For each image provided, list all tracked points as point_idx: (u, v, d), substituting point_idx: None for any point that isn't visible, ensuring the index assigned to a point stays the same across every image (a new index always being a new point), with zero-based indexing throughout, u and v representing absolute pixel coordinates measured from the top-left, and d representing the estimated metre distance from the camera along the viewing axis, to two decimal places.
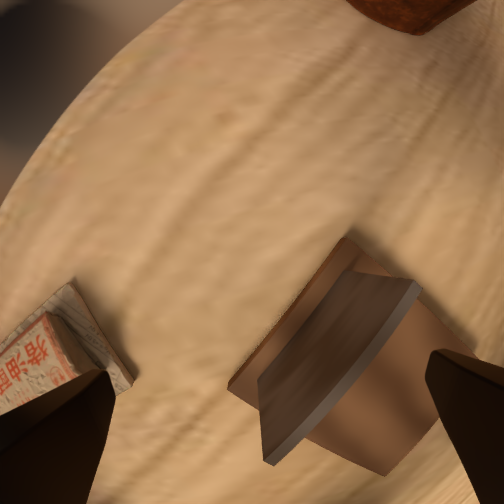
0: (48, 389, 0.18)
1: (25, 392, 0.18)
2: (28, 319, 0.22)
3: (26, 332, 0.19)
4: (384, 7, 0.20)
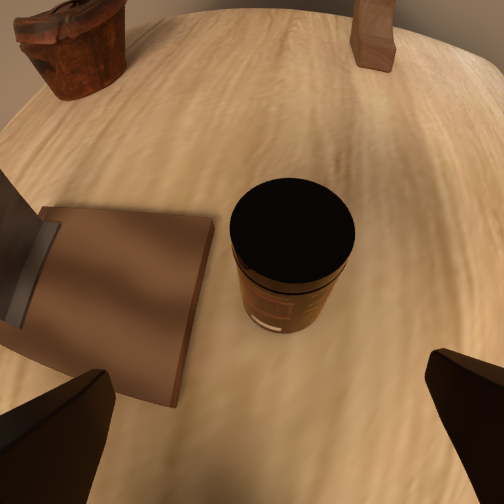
0: None
1: None
2: None
3: None
4: (71, 85, 0.35)
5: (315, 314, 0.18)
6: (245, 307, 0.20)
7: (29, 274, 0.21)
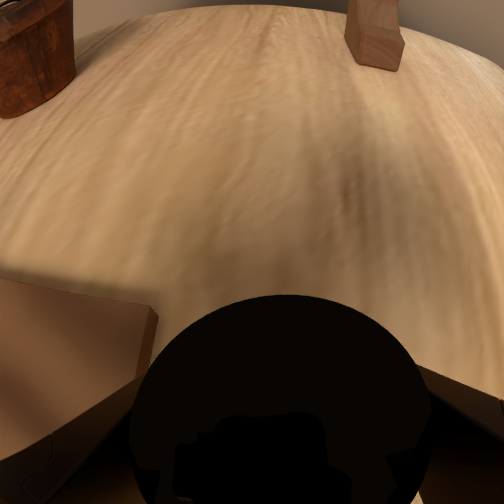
0: None
1: None
2: None
3: None
4: (7, 100, 0.25)
5: None
6: None
7: None
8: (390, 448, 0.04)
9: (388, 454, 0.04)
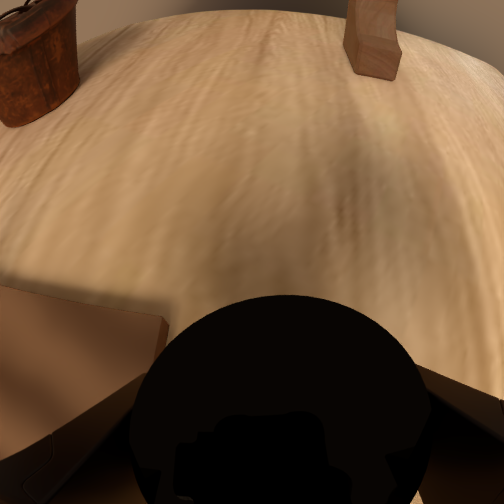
0: None
1: None
2: None
3: None
4: (13, 110, 0.27)
5: None
6: None
7: None
8: (389, 448, 0.04)
9: (387, 454, 0.04)
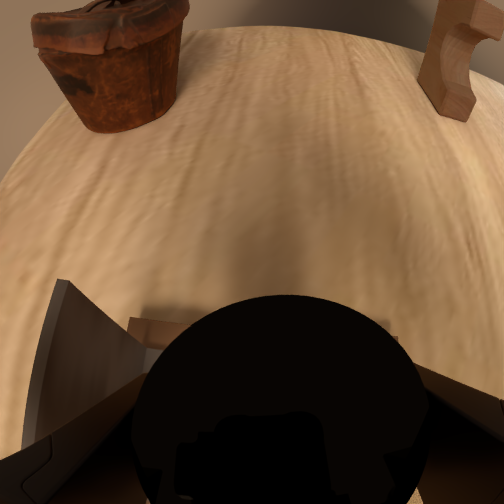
0: None
1: None
2: None
3: None
4: (113, 114, 0.29)
5: None
6: None
7: None
8: (388, 446, 0.05)
9: (386, 452, 0.04)
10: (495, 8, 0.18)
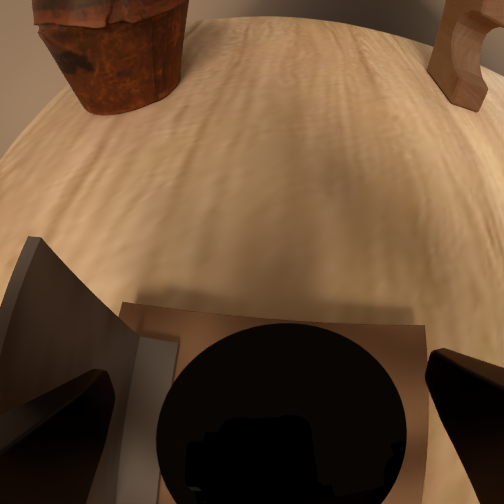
0: None
1: None
2: None
3: None
4: (113, 94, 0.27)
5: None
6: None
7: (144, 435, 0.13)
8: (369, 449, 0.06)
9: (367, 454, 0.06)
10: None
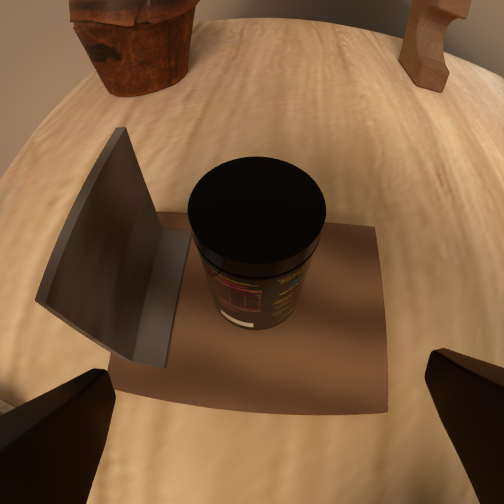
0: None
1: None
2: None
3: None
4: (135, 79, 0.34)
5: (289, 307, 0.17)
6: (214, 303, 0.19)
7: (163, 296, 0.20)
8: (303, 209, 0.13)
9: (302, 211, 0.13)
10: None
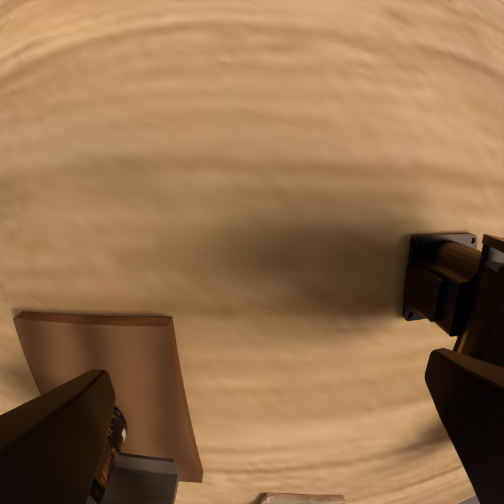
0: None
1: None
2: None
3: None
4: None
5: None
6: None
7: (127, 462, 0.22)
8: None
9: None
10: None
